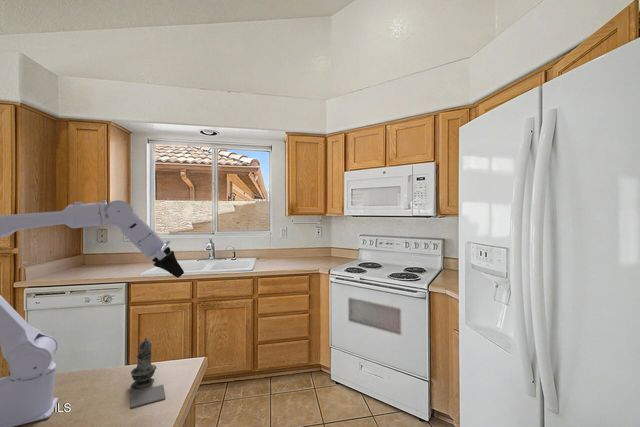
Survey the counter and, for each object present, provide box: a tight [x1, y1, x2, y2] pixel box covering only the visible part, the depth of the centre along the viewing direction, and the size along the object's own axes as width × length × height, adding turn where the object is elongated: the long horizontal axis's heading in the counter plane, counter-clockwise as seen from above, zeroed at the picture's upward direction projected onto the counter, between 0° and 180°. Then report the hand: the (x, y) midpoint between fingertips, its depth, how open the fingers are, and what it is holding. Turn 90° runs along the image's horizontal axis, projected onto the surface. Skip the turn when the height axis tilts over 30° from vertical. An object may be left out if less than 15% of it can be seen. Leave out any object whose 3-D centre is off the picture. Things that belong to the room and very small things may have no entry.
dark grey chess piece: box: [130, 337, 157, 390], centre depth 74 cm, size 6×6×12 cm
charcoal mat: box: [130, 384, 166, 409], centre depth 68 cm, size 7×7×1 cm
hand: (179, 272), depth 79 cm, fingers open, 7 cm apart
